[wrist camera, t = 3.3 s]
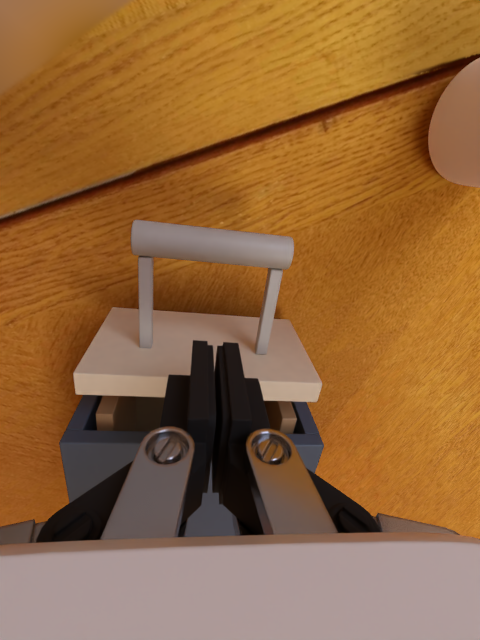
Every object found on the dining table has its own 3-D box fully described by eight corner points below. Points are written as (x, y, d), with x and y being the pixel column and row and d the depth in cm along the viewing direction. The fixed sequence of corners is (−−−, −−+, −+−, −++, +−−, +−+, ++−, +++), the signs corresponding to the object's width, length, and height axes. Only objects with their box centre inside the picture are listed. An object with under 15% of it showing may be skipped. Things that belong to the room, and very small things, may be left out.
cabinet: (108, 342, 22) (58, 442, 14) (286, 352, 24) (324, 445, 16) (117, 483, 28) (86, 603, 21) (256, 482, 30) (274, 592, 23)
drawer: (106, 200, 17) (53, 225, 11) (310, 224, 19) (361, 258, 13) (120, 458, 26) (95, 550, 20) (258, 458, 28) (274, 544, 22)
